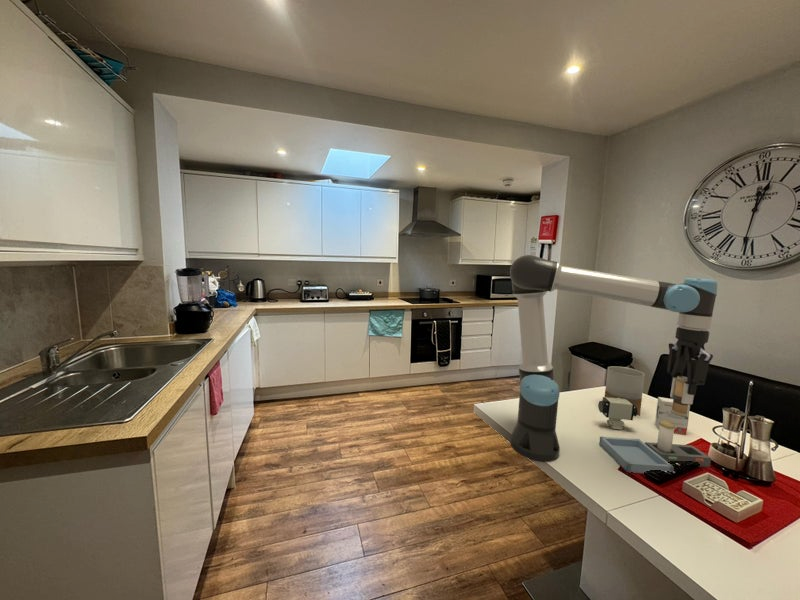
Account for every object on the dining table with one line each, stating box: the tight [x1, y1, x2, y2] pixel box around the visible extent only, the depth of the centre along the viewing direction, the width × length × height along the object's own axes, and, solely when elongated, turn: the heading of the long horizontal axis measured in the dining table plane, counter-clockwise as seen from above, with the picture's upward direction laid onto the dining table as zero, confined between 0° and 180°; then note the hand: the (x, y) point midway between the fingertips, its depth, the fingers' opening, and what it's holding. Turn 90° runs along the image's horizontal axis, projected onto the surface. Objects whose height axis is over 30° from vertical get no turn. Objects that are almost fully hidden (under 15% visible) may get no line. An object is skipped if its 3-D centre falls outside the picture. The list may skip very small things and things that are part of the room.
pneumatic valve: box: [597, 396, 638, 431], centre depth 121 cm, size 6×12×12 cm, turn 78°
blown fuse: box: [671, 375, 690, 417], centre depth 100 cm, size 4×4×12 cm
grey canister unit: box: [604, 365, 646, 416], centre depth 136 cm, size 13×13×18 cm
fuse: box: [656, 420, 675, 453], centre depth 102 cm, size 4×4×12 cm
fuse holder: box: [644, 441, 712, 468], centre depth 102 cm, size 15×7×3 cm, turn 86°
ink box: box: [654, 396, 691, 436], centre depth 121 cm, size 9×5×12 cm, turn 65°
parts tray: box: [598, 436, 675, 474], centre depth 101 cm, size 13×15×3 cm
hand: (680, 400), depth 100 cm, fingers closed on blown fuse, 4 cm apart
